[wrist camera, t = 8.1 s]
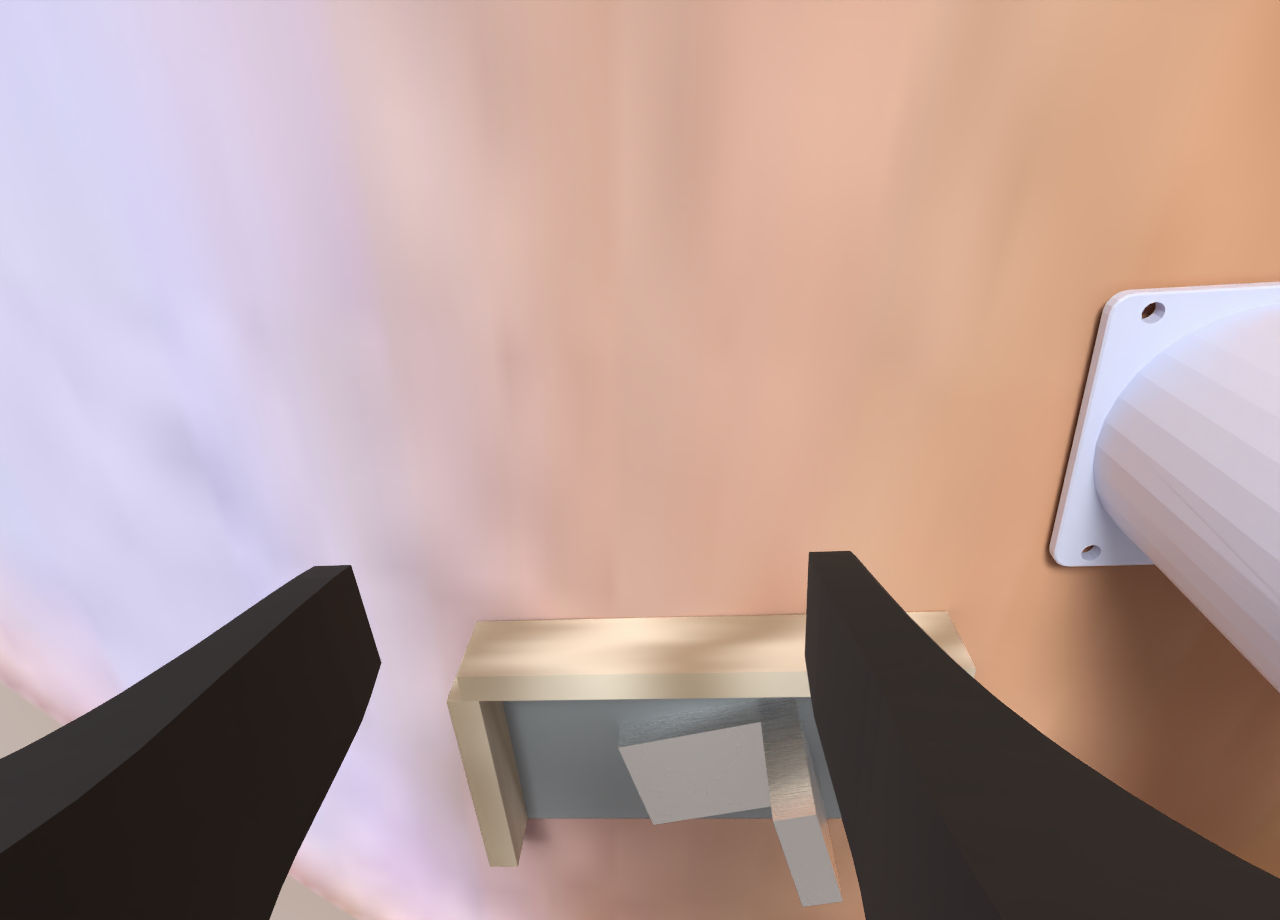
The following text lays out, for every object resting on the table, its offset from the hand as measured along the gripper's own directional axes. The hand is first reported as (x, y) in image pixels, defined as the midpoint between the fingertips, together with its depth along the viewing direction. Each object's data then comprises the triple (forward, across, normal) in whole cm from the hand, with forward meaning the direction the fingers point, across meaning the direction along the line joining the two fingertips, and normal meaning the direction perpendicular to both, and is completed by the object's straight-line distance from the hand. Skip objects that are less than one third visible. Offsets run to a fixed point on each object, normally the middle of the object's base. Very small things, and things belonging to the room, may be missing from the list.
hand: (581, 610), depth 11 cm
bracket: (+9, -2, +13) cm, 16 cm away
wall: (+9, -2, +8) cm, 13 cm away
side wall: (+9, +6, +13) cm, 17 cm away
